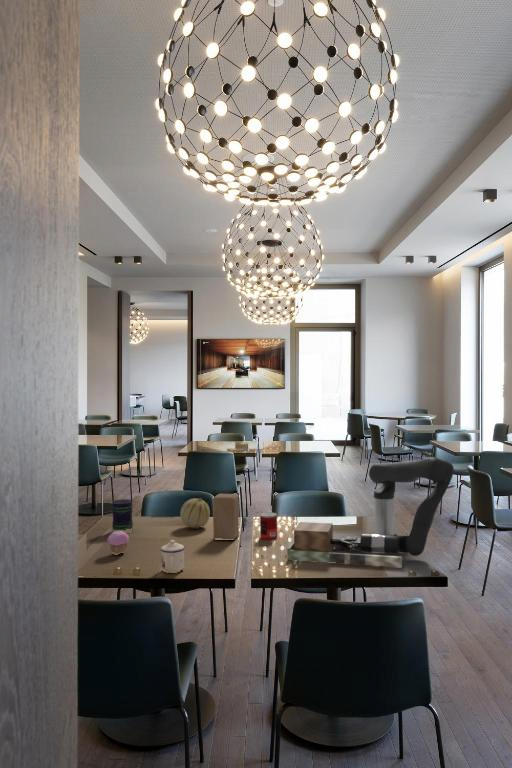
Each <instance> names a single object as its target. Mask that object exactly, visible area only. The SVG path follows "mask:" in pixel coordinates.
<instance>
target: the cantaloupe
mask: <svg viewBox="0 0 512 768" xmlns="http://www.w3.org/2000/svg"><path fill="white" fill-rule="evenodd" d="M210 516H211V510H210V506H209V504H208V503H207V501H205V500H203V498H202V497H200V498H197V497H196V498H195V497H194V498H190V499H188V500H186V501H185V502H184V504H182V506H181V509H180V519H181V522H182V523H183V524H184V525H185V526H187V527H188V526H189V527H188V528H190V527H201V526H203V527H204V526H206V525H207V523H208V522H209V520H210ZM201 528H202V527H201Z"/></svg>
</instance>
